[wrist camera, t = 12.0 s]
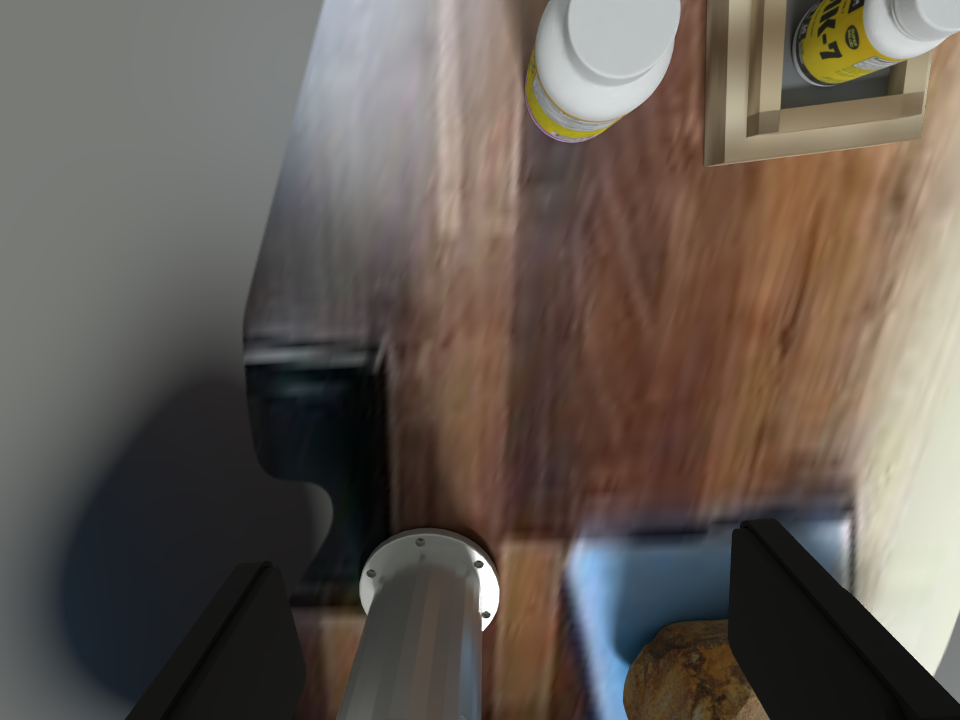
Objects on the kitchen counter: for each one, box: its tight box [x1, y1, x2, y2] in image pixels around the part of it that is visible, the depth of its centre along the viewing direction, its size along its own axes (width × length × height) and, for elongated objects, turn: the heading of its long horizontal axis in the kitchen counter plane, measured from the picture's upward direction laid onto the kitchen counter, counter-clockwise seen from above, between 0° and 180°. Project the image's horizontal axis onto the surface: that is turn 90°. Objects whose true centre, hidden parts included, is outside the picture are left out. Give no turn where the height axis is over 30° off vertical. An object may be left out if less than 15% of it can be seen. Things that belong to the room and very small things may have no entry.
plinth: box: [704, 0, 933, 167], centre depth 29 cm, size 12×12×4 cm
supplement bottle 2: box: [792, 0, 960, 86], centre depth 24 cm, size 5×5×8 cm
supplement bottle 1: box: [525, 0, 680, 142], centre depth 26 cm, size 7×7×13 cm
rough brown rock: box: [623, 619, 770, 720], centre depth 39 cm, size 23×17×15 cm
